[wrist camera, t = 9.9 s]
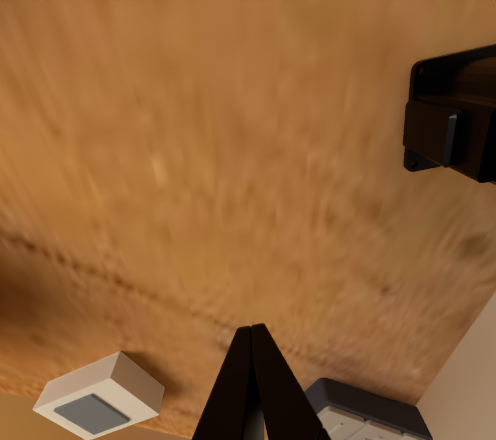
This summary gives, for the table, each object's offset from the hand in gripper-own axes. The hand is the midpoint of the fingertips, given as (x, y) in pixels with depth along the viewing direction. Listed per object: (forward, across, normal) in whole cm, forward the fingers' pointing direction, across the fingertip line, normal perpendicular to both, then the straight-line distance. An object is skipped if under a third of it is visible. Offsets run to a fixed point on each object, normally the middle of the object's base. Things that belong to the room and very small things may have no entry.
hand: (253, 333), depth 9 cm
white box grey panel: (+11, +14, +17) cm, 25 cm away
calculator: (+13, -6, +32) cm, 35 cm away
